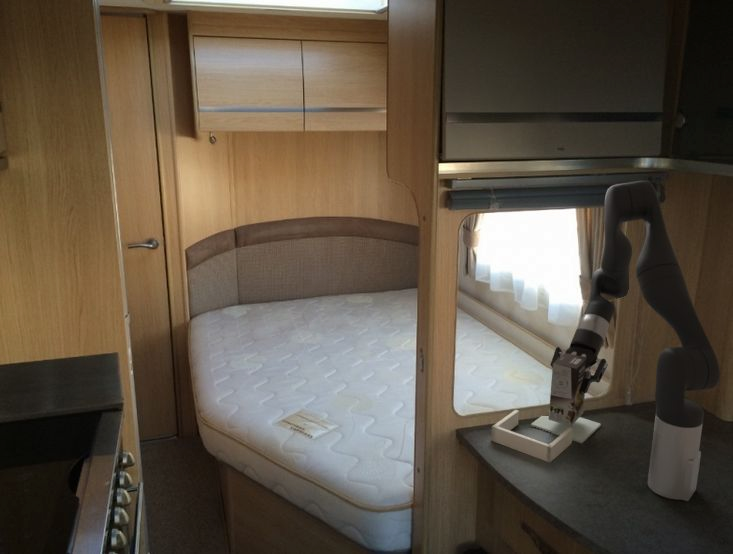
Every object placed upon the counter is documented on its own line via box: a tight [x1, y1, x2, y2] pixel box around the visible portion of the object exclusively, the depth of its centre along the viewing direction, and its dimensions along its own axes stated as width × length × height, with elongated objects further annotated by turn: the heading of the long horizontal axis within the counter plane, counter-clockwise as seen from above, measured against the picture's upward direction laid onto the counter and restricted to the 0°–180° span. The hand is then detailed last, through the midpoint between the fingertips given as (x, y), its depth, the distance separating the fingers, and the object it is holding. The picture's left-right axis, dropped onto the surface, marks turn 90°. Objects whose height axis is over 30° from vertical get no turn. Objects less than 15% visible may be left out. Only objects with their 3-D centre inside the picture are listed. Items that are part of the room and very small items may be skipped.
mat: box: [530, 415, 602, 444], centre depth 173 cm, size 14×12×1 cm
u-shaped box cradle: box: [490, 409, 573, 463], centre depth 164 cm, size 16×12×4 cm
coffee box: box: [548, 353, 588, 426], centre depth 170 cm, size 9×6×16 cm
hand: (568, 389), depth 170 cm, fingers closed on coffee box, 6 cm apart
